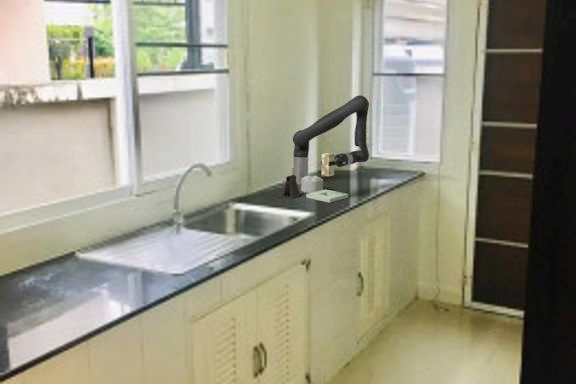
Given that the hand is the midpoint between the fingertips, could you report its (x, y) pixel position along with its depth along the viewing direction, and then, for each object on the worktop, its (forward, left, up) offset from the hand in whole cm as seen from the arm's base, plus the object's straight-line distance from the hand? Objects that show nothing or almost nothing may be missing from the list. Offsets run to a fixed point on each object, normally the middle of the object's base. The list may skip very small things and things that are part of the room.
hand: (325, 163), depth 337 cm
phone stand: (-17, -9, -20) cm, 28 cm away
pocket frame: (0, +3, -20) cm, 20 cm away
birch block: (0, +3, -7) cm, 7 cm away
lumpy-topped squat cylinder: (-18, +10, -20) cm, 29 cm away
